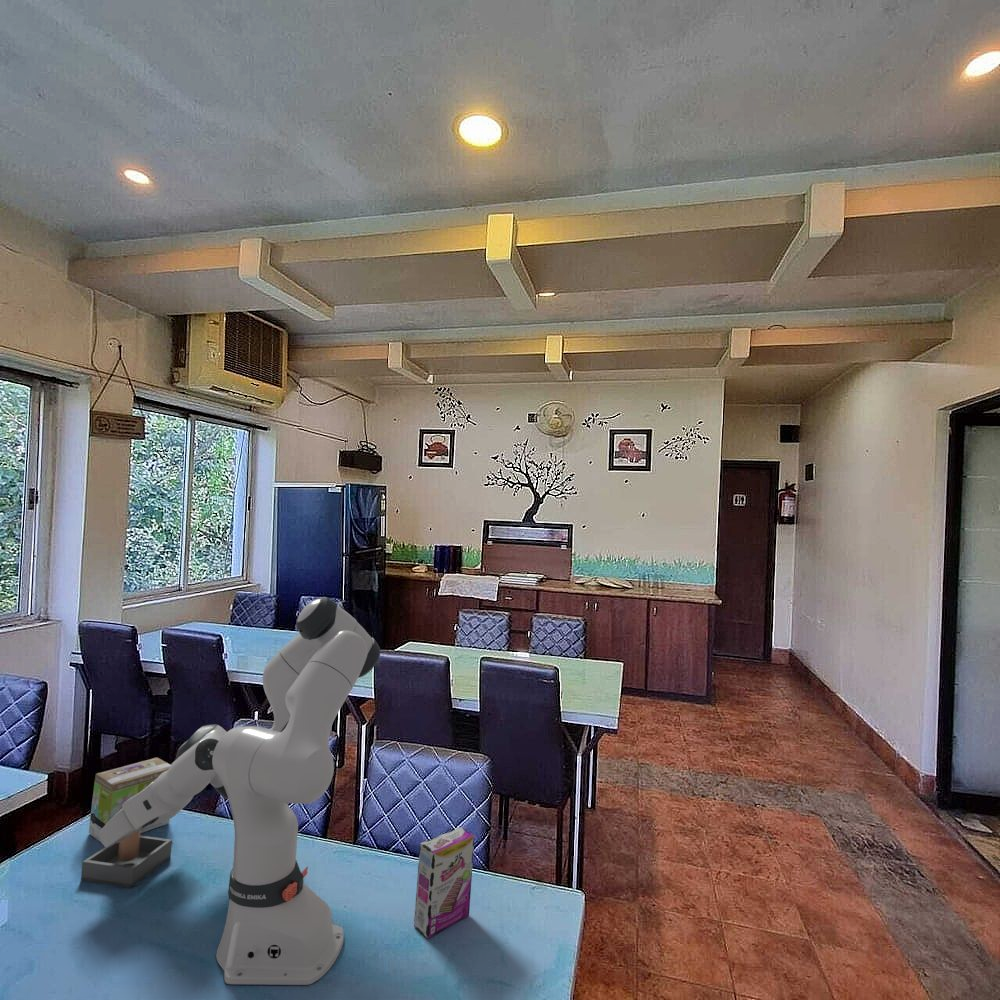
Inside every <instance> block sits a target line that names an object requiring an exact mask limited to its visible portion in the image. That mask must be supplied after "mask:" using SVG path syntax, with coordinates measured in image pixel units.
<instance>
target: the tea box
mask: <svg viewBox="0 0 1000 1000" xmlns="http://www.w3.org/2000/svg"><path fill="white" fill-rule="evenodd" d="M170 766H171V763H168V762H167V761H164V760H163V759H161V758H159V757H153V758H150V759H147V760H141V761H138V762H135V763H131V764H127V765H124V766H121V767H117V768H112V769H109V770H105V771H101V772H97V773H95V776H94V783H93V784H94V785H93V792H92V793H93V794H92V799H91V800H92V801H91V808H90V809H91V810H90V817H89V826H88V834H89V835H91V836H92V837H93V838H94V839H95V840H97V841H98V842H99V843H101V844H102V842H101V840H100V838H99V832H100V830H101V829H102V828H103V827H104V826H105V825H106V824H107V822H108V821H109V820H110V819H111V818H112V817H113V816H114V815H115V814H116V813H117V812H119V811H120V810H121V809H123V807H122V805H123V803H124V802H125V801H127V800H128V799H130V798H131V797H132V796H134V795H136V794H137V793H139V792H140V791H142V790H144V789H145V788H146V787H147V786H148V785H149V784H150V783H151V782H153V781H155V780H156V779H157V778H158V777H159V776H160V775H161V774H162V773H163V772H165V771H167V770H168V769H169V767H170ZM170 820H171V818H170V819H167V820H162V821H159V822H155V823H152V824H150V825H148V826H146V827H145V828H144V829H142V830H141V834H142V833H146V832H148V831H151V830H153V829H156V828H159V827H163V826H166V825H168V824H169V823H170Z"/></svg>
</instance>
